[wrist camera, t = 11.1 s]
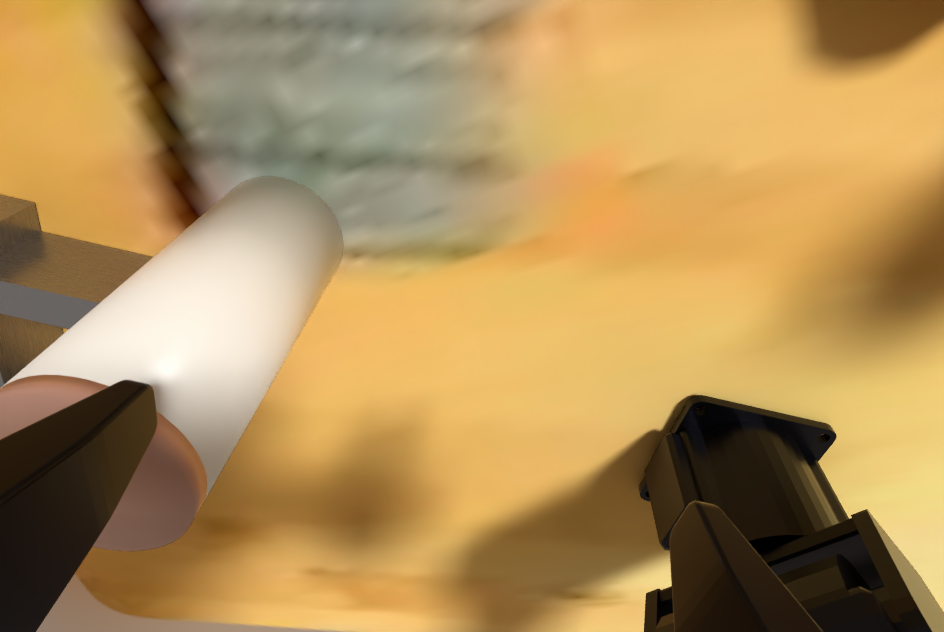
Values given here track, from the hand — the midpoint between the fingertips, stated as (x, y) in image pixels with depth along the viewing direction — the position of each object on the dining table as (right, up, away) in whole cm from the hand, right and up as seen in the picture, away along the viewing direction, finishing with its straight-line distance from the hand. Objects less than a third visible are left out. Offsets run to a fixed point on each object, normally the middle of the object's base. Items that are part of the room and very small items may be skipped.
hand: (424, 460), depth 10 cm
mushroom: (-7, +5, +13) cm, 15 cm away
